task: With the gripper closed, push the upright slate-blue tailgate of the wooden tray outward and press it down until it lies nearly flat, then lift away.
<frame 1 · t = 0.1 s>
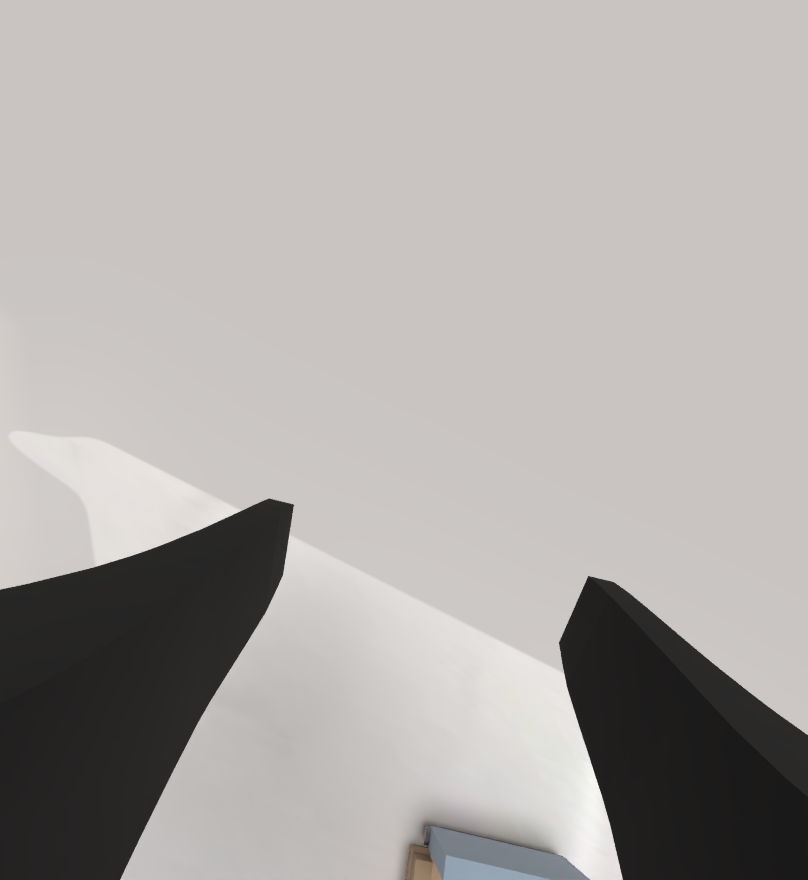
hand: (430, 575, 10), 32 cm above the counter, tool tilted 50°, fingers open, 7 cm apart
tailgate: (507, 866, 28), point 4 cm above the counter, hinge at 0.0°
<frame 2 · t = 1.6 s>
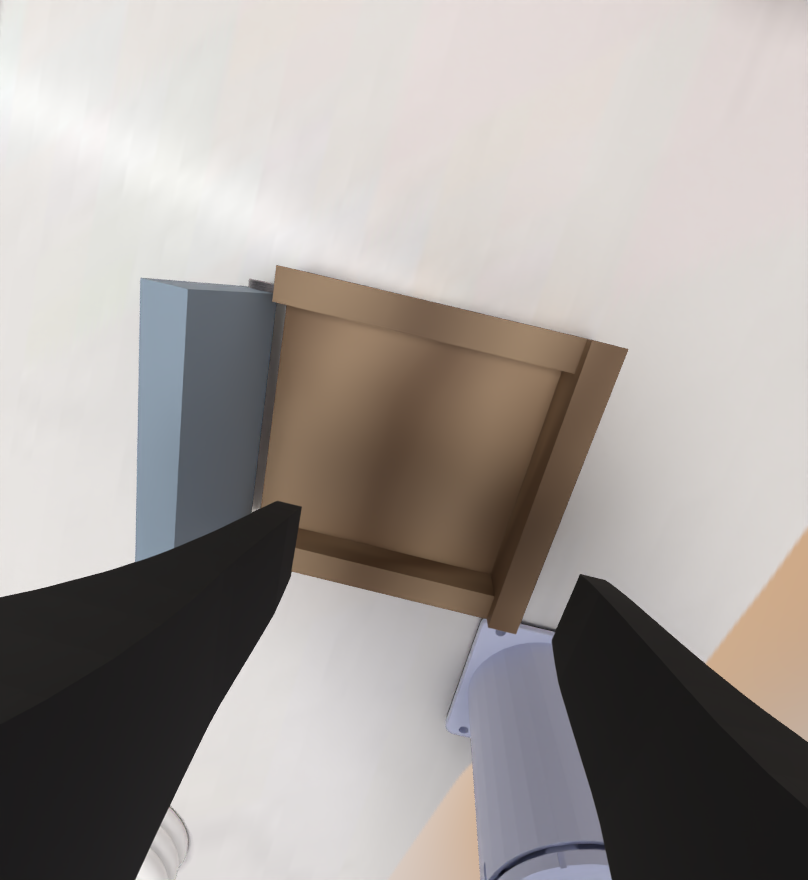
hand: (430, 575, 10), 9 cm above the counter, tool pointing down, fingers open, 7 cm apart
coaster: (125, 820, 30), on the counter
wooden tray: (413, 441, 19), on the counter
tailgate: (215, 433, 15), point 4 cm above the counter, hinge at 0.0°
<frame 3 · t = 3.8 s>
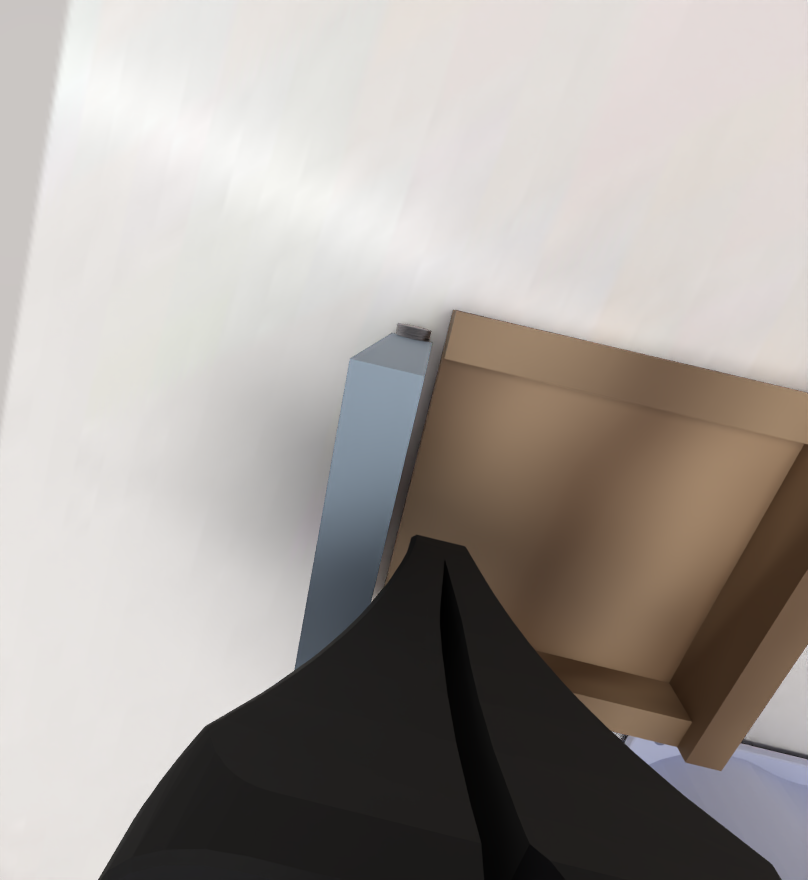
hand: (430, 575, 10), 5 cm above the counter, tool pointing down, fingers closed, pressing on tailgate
wooden tray: (573, 517, 15), on the counter
tailgate: (363, 533, 11), point 4 cm above the counter, hinge at 0.0°, touching gripper
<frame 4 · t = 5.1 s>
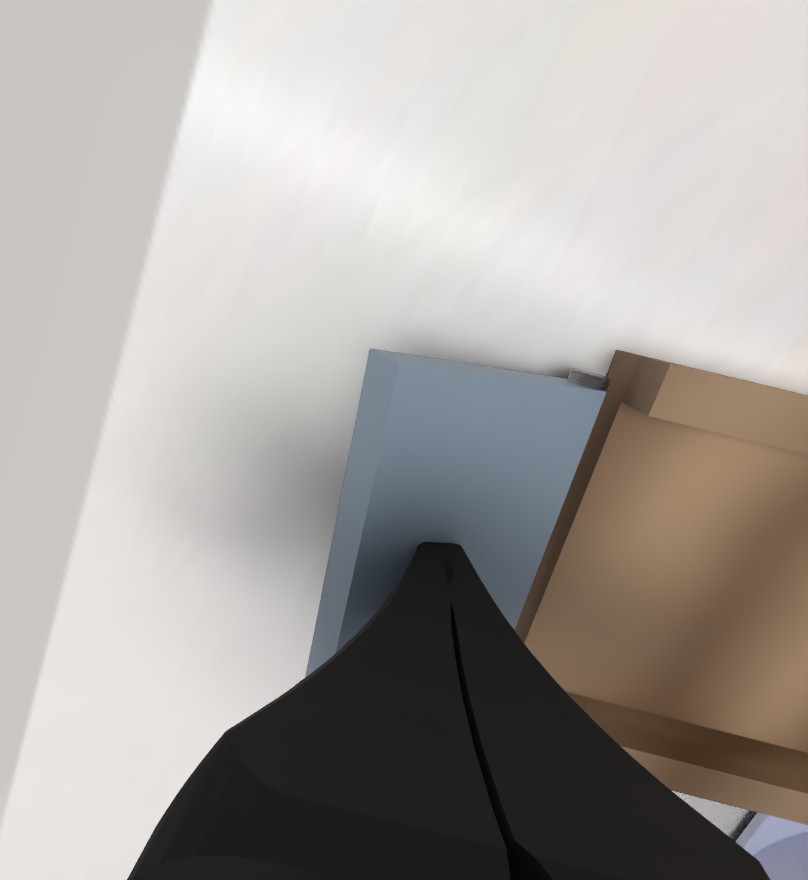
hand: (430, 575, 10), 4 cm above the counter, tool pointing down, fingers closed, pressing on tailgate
wooden tray: (726, 574, 14), on the counter
tailgate: (453, 560, 11), point 3 cm above the counter, hinge at 55.0°, touching gripper
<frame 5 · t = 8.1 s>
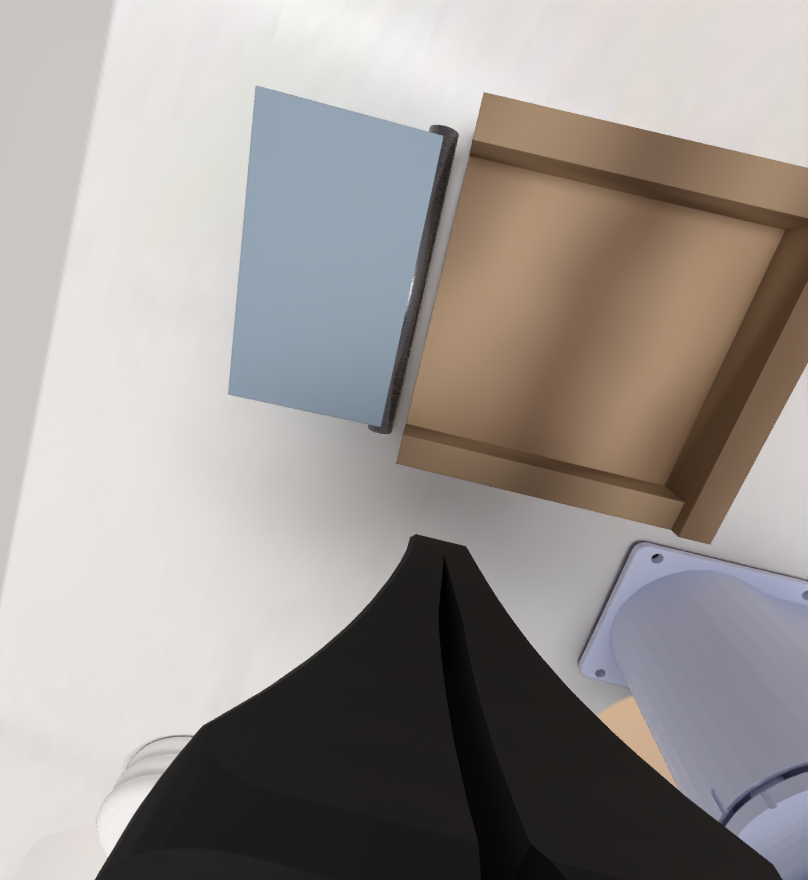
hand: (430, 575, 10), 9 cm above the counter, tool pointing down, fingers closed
coaster: (206, 783, 28), on the counter
wooden tray: (579, 337, 17), on the counter
tailgate: (335, 279, 15), point 2 cm above the counter, hinge at 85.0°
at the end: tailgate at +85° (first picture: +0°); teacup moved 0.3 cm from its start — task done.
